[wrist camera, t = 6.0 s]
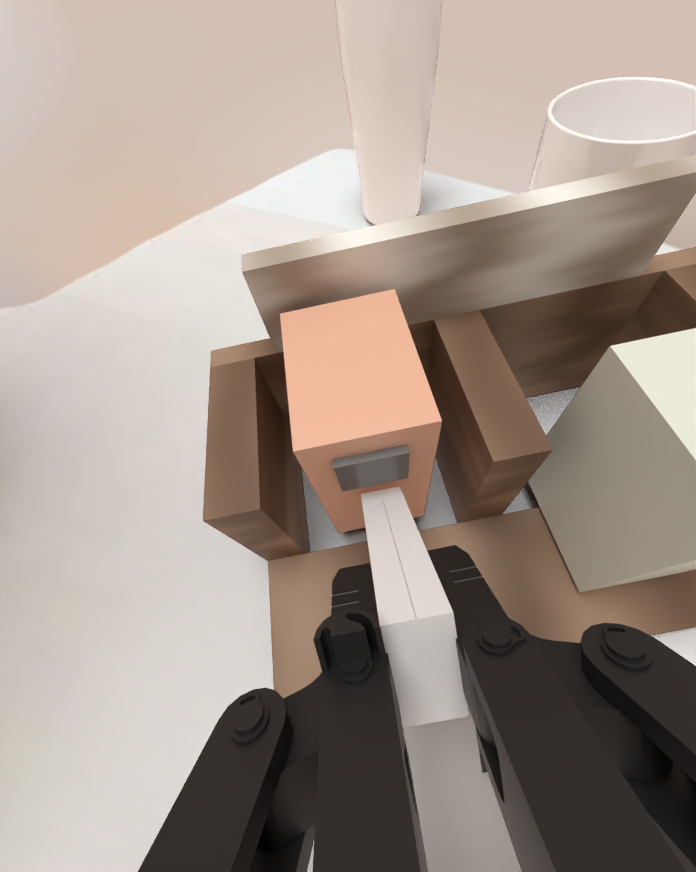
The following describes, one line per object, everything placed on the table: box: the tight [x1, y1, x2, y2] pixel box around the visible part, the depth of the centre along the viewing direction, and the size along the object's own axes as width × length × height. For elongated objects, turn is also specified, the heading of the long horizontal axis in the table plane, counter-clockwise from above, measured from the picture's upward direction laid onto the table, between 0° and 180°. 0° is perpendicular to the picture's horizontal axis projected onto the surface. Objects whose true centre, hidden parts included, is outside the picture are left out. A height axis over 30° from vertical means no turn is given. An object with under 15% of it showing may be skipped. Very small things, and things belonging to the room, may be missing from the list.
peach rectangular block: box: [280, 289, 442, 533], centre depth 16 cm, size 4×6×9 cm
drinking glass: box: [335, 0, 442, 225], centre depth 28 cm, size 7×7×15 cm
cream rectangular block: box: [528, 328, 696, 592], centre depth 13 cm, size 4×6×9 cm
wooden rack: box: [203, 155, 696, 698], centre depth 14 cm, size 22×14×12 cm, turn 99°
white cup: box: [528, 77, 696, 191], centre depth 23 cm, size 8×8×10 cm
